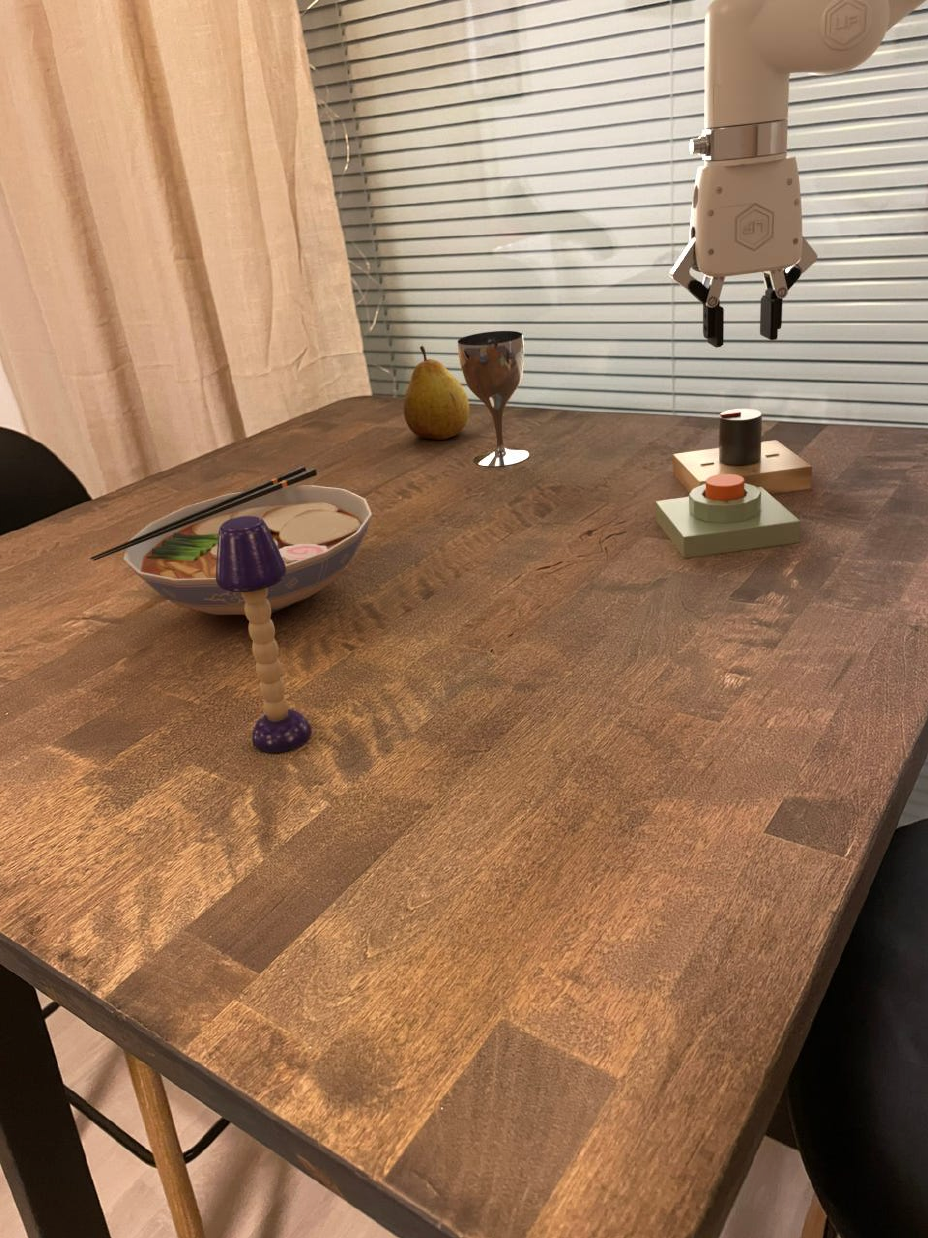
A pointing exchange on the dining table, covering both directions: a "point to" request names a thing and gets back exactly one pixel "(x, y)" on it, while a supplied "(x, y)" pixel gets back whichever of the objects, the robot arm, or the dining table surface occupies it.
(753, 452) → the dimmer knob
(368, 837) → the dining table surface
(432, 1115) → the dining table surface
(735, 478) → the power button
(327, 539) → the ramen bowl
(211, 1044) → the dining table surface
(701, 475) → the dimmer panel
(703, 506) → the switch box
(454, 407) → the fruit
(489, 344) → the wine glass
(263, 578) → the toy lamp
